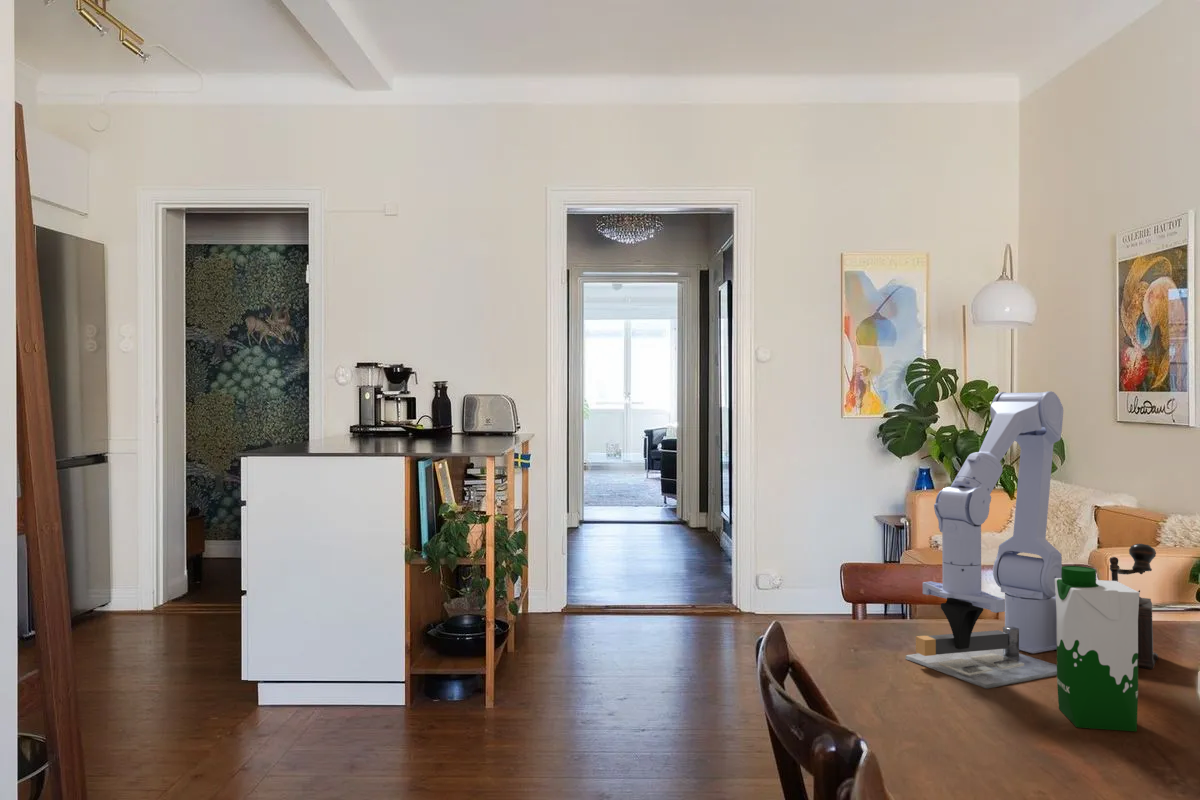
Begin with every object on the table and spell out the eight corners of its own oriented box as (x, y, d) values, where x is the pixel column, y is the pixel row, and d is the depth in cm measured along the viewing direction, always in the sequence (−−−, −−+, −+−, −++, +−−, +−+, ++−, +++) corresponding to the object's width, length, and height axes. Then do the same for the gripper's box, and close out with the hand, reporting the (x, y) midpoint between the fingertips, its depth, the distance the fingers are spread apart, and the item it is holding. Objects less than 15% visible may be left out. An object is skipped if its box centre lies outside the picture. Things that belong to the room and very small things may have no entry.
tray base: (984, 646, 146) (984, 617, 146) (1069, 672, 132) (1069, 640, 132) (905, 659, 139) (905, 628, 139) (986, 688, 124) (986, 654, 124)
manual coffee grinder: (1158, 671, 133) (1158, 556, 133) (1078, 659, 139) (1077, 550, 139) (1156, 647, 146) (1156, 543, 146) (1083, 637, 152) (1082, 537, 152)
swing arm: (998, 644, 140) (998, 629, 140) (1008, 648, 138) (1008, 633, 138) (915, 651, 136) (915, 636, 136) (924, 656, 134) (924, 640, 134)
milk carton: (1049, 706, 117) (1048, 561, 117) (1121, 710, 115) (1120, 564, 115) (1071, 730, 108) (1070, 574, 109) (1149, 735, 107) (1148, 577, 107)
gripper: (908, 557, 140) (908, 639, 139) (981, 572, 126) (981, 663, 126) (940, 554, 142) (940, 634, 142) (1014, 569, 129) (1014, 657, 129)
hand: (962, 648), depth 134 cm, fingers closed
